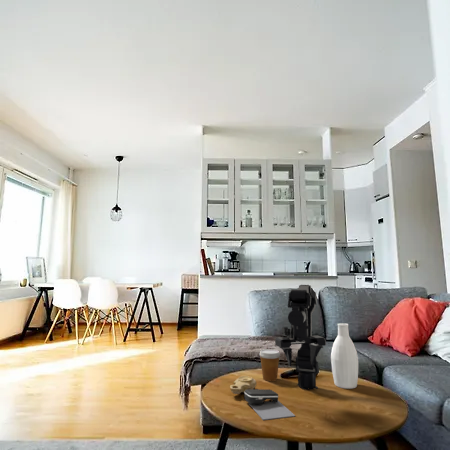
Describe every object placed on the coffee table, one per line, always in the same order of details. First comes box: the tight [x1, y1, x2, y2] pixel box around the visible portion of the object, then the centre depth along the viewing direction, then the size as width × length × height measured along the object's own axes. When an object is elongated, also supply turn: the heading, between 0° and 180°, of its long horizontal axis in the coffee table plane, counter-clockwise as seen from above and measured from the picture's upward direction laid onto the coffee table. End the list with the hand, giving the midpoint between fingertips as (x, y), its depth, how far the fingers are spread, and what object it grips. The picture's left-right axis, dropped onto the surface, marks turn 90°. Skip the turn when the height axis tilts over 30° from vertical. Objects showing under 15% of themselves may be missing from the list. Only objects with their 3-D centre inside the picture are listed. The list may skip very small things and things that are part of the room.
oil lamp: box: [229, 375, 257, 395], centre depth 134 cm, size 11×14×5 cm
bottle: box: [330, 322, 359, 390], centre depth 144 cm, size 11×11×25 cm
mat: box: [248, 400, 296, 421], centre depth 117 cm, size 12×14×1 cm
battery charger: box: [244, 388, 279, 405], centre depth 123 cm, size 7×4×11 cm
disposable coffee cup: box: [259, 348, 281, 382], centre depth 151 cm, size 10×10×12 cm
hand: (301, 365), depth 126 cm, fingers open, 9 cm apart
